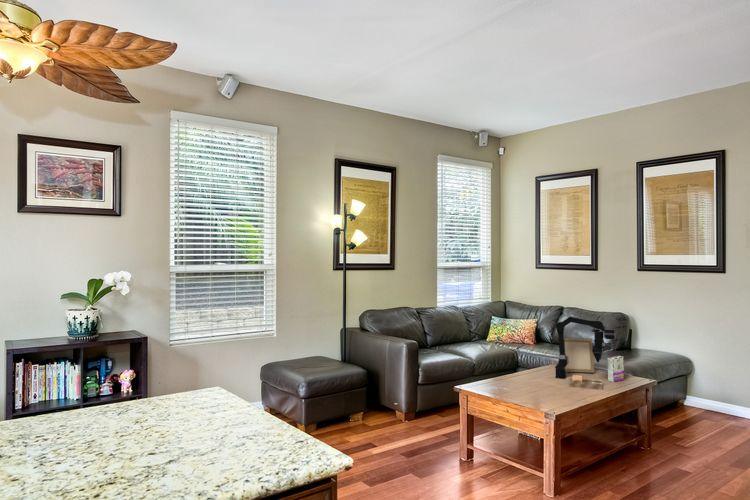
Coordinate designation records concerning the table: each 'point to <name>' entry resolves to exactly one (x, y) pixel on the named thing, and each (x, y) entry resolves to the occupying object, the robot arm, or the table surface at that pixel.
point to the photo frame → (579, 355)
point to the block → (577, 377)
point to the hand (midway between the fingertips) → (598, 361)
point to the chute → (586, 383)
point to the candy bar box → (615, 368)
